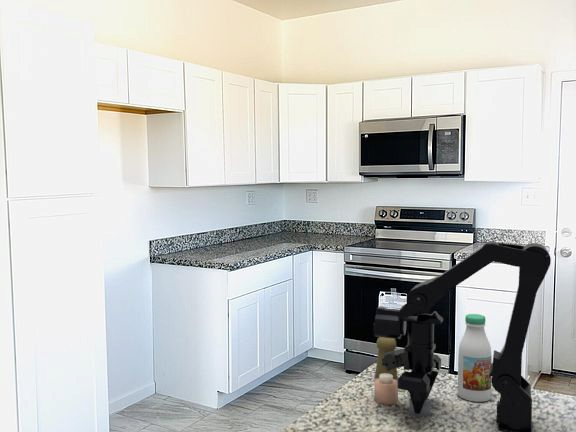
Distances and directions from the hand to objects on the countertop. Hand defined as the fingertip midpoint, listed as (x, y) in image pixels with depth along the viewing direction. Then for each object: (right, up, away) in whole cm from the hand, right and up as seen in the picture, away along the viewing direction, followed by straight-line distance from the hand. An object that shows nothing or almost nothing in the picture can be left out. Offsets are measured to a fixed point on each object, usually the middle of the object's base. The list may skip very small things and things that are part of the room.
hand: (420, 408), depth 125 cm
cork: (-4, 0, +23) cm, 23 cm away
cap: (0, -1, 0) cm, 1 cm away
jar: (-6, -1, +7) cm, 10 cm away
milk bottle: (+15, -1, +9) cm, 18 cm away
